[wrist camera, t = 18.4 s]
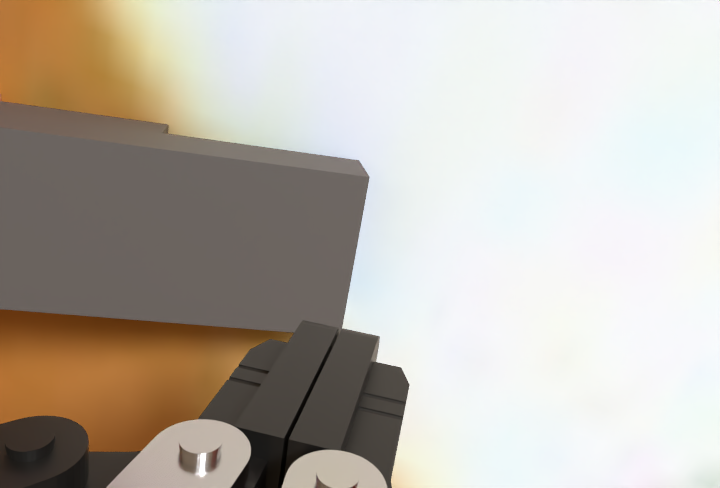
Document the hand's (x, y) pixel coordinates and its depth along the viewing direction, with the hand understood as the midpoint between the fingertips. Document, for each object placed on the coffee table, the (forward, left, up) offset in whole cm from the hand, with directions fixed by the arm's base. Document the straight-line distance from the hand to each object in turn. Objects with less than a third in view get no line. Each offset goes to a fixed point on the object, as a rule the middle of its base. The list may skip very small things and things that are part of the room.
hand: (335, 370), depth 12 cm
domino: (-1, 0, -7) cm, 7 cm away
